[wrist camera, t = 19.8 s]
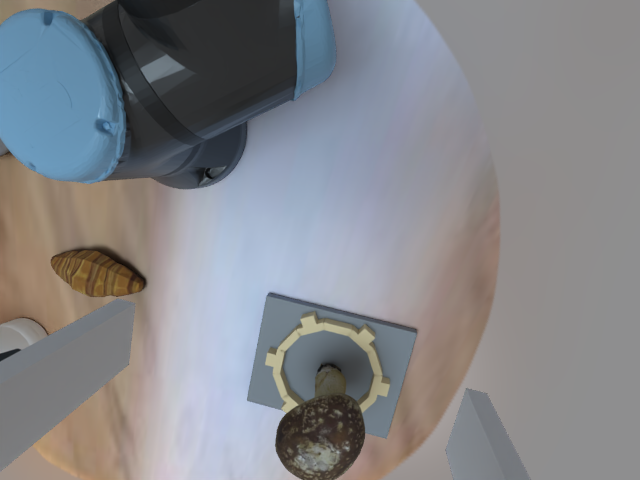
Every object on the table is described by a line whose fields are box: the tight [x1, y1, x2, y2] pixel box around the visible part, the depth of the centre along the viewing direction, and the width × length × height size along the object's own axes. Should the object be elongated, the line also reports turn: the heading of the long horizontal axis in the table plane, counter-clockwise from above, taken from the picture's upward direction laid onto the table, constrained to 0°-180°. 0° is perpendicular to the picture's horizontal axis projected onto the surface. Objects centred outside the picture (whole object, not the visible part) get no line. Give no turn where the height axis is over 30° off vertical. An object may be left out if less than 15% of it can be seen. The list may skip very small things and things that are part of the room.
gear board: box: [247, 293, 417, 439], centre depth 51 cm, size 20×16×3 cm
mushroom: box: [275, 363, 365, 480], centre depth 44 cm, size 9×9×15 cm
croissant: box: [51, 250, 145, 297], centre depth 52 cm, size 14×7×5 cm, turn 75°
